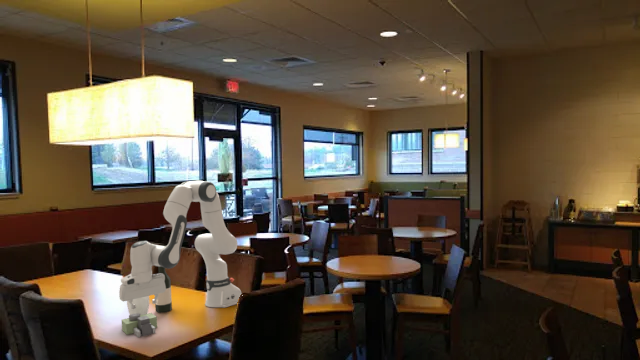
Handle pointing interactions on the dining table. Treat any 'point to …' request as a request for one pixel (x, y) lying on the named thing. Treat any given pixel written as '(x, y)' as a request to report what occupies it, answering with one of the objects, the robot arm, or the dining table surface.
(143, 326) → the upright grey box
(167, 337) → the dining table surface
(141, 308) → the jar
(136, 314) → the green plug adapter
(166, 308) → the wine bottle
